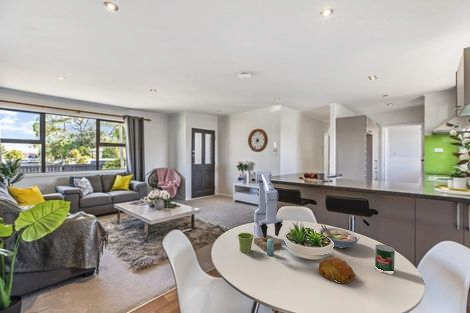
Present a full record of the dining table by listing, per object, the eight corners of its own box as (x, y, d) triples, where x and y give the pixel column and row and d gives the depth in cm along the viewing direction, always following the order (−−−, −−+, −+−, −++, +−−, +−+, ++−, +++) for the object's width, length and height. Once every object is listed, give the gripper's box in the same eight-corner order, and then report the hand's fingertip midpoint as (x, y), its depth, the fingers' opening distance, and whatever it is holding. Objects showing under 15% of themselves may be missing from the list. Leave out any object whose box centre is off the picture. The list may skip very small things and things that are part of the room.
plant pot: (253, 247, 134) (254, 233, 134) (253, 254, 124) (253, 239, 124) (238, 246, 135) (238, 232, 135) (236, 253, 125) (236, 238, 125)
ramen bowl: (366, 256, 125) (367, 241, 125) (323, 252, 129) (323, 238, 129) (351, 239, 150) (352, 227, 149) (315, 236, 154) (315, 224, 153)
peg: (265, 253, 126) (266, 239, 126) (271, 252, 128) (271, 238, 128) (269, 256, 123) (269, 241, 123) (274, 255, 124) (275, 240, 124)
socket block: (254, 243, 141) (254, 238, 141) (270, 240, 145) (270, 235, 145) (264, 250, 130) (264, 245, 130) (281, 247, 134) (281, 242, 134)
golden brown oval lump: (313, 275, 109) (311, 259, 109) (338, 265, 114) (337, 250, 114) (336, 292, 95) (334, 273, 95) (363, 280, 101) (362, 262, 100)
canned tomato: (390, 267, 113) (391, 245, 113) (397, 275, 106) (397, 252, 106) (372, 264, 115) (373, 243, 115) (377, 272, 108) (378, 249, 108)
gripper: (263, 215, 118) (263, 241, 119) (286, 212, 124) (286, 237, 124) (257, 211, 125) (256, 236, 125) (279, 209, 131) (278, 233, 131)
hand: (270, 236), depth 125 cm, fingers open, 7 cm apart
